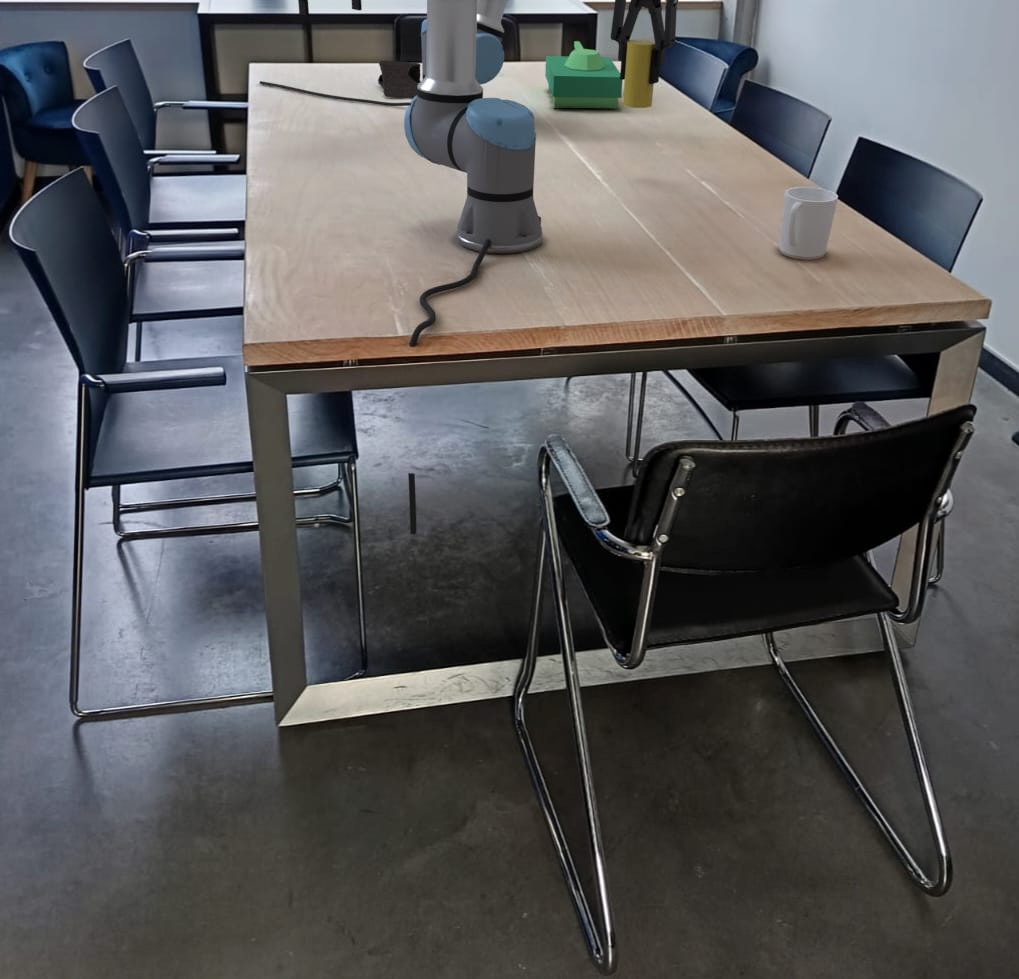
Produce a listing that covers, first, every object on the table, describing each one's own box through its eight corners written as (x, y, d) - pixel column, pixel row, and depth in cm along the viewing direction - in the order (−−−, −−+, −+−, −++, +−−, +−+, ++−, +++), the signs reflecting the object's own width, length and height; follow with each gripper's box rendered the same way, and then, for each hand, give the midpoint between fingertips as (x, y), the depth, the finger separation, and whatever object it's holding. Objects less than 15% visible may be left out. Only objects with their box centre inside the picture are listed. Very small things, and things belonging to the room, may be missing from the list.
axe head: (443, 87, 294) (392, 77, 287) (436, 115, 299) (385, 106, 292) (421, 62, 307) (371, 52, 300) (414, 89, 311) (365, 80, 304)
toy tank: (607, 38, 308) (624, 61, 278) (604, 83, 314) (620, 111, 284) (544, 36, 307) (554, 60, 277) (542, 82, 313) (552, 110, 283)
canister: (657, 105, 226) (663, 42, 220) (638, 109, 222) (644, 45, 216) (635, 100, 230) (640, 38, 223) (616, 104, 226) (621, 41, 220)
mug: (790, 240, 199) (799, 183, 193) (836, 251, 194) (846, 193, 188) (761, 255, 191) (769, 197, 186) (808, 267, 186) (818, 208, 181)
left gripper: (281, -96, 218) (290, 19, 229) (383, -99, 232) (387, 9, 244) (262, -98, 223) (271, 14, 234) (363, -101, 237) (368, 5, 248)
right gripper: (702, -42, 210) (689, 84, 222) (616, -50, 219) (607, 72, 231) (685, -40, 204) (672, 90, 216) (597, -48, 213) (589, 77, 225)
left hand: (330, 12), depth 239 cm, fingers open, 13 cm apart
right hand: (639, 80), depth 223 cm, fingers closed on canister, 6 cm apart
